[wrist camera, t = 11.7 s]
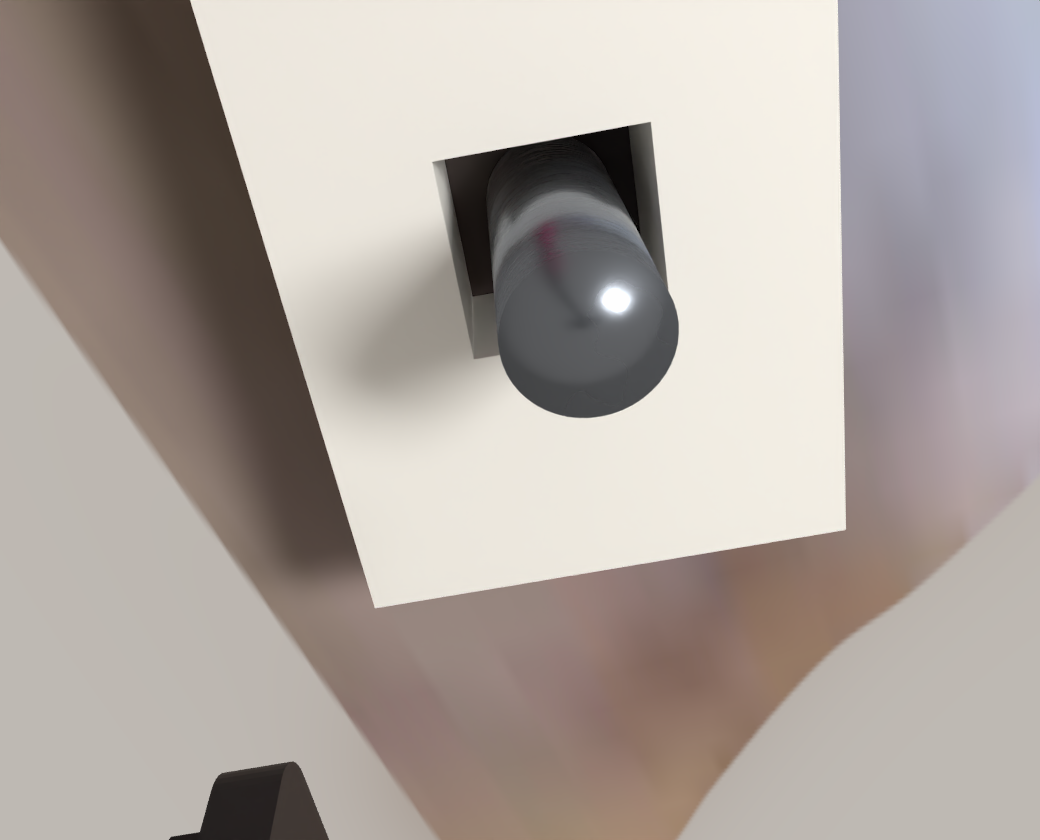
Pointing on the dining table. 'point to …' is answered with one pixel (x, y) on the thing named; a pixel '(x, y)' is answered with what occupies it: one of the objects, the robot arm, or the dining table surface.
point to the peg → (574, 284)
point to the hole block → (472, 319)
